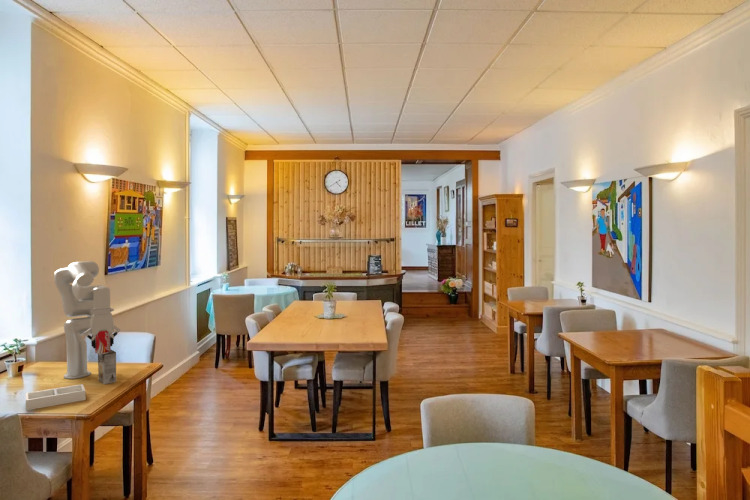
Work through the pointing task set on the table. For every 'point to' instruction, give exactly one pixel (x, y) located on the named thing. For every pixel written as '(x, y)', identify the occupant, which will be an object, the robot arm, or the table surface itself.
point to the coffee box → (107, 367)
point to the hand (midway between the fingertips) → (102, 346)
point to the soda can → (102, 342)
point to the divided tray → (55, 396)
